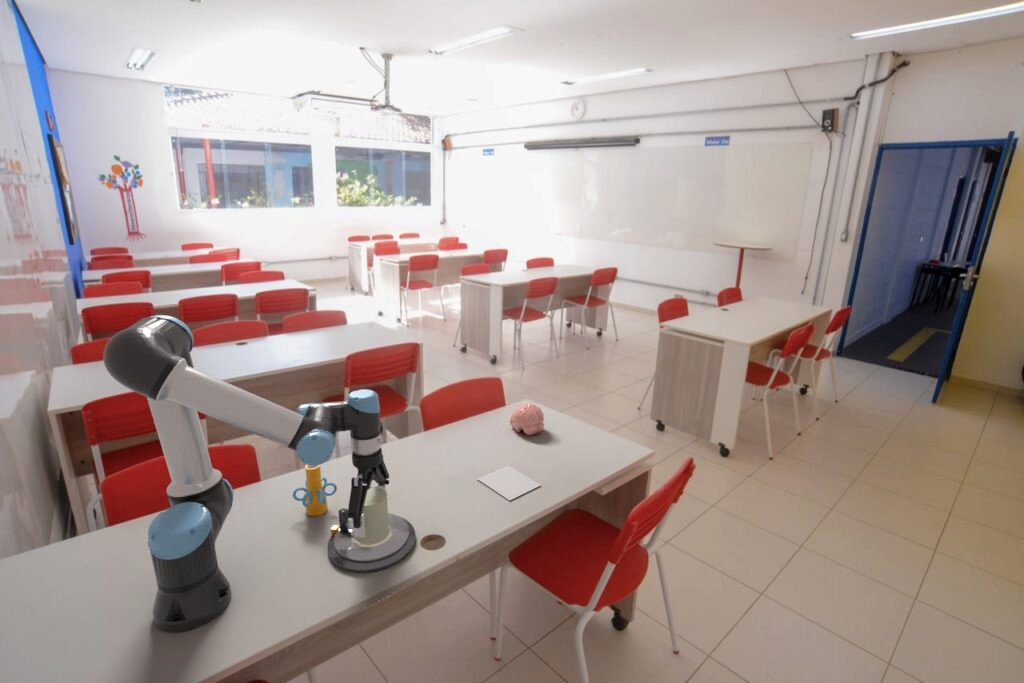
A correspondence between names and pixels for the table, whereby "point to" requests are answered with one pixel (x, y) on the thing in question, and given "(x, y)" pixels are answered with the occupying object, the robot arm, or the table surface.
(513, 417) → the brain
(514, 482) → the paper stack
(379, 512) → the can
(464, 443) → the table surface
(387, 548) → the turntable
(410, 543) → the turntable base
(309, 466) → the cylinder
